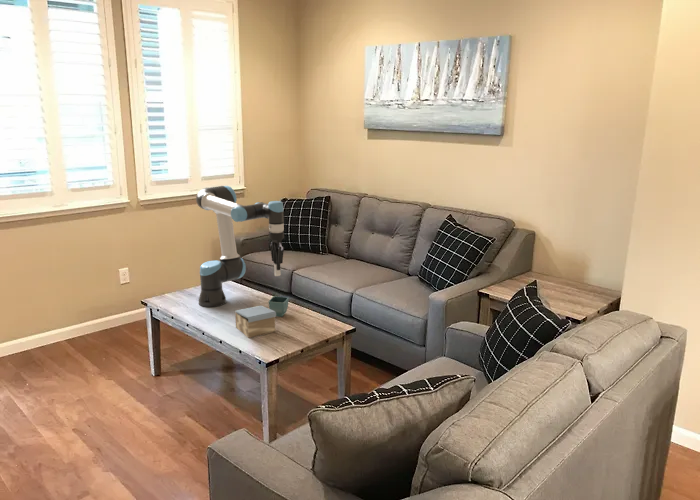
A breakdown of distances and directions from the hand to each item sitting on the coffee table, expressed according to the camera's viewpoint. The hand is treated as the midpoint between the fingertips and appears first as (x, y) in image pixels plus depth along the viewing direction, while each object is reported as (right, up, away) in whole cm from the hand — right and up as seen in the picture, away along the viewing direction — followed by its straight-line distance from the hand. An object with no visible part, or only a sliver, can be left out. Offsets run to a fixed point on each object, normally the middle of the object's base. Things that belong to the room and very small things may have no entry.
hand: (277, 275), depth 294 cm
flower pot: (0, -22, +6) cm, 23 cm away
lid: (-9, -19, -16) cm, 27 cm away
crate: (-9, -26, -14) cm, 31 cm away
